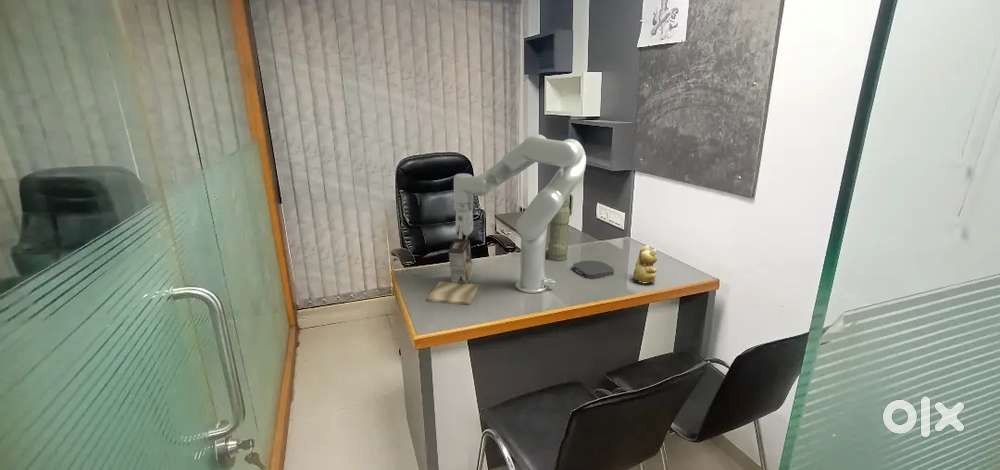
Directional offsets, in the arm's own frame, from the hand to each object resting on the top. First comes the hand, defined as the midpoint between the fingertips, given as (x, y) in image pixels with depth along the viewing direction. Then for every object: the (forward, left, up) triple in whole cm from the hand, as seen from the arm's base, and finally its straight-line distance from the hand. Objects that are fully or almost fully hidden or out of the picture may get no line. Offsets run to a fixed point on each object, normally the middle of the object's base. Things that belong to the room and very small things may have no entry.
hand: (463, 250), depth 184 cm
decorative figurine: (-72, -12, -12) cm, 74 cm away
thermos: (-36, -33, -12) cm, 50 cm away
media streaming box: (-52, -19, -13) cm, 57 cm away
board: (0, +16, -12) cm, 20 cm away
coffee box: (0, +3, -11) cm, 12 cm away
